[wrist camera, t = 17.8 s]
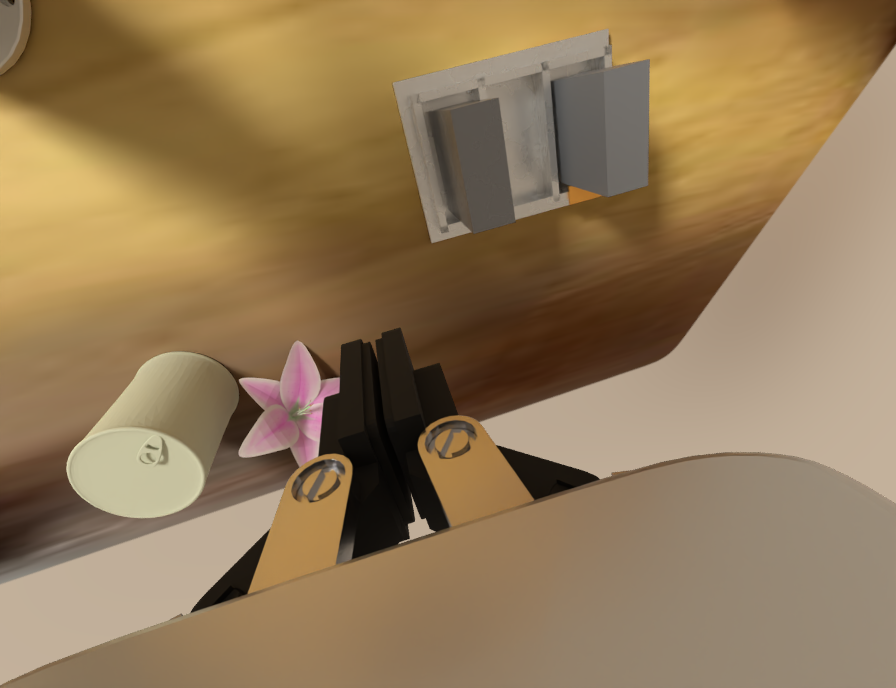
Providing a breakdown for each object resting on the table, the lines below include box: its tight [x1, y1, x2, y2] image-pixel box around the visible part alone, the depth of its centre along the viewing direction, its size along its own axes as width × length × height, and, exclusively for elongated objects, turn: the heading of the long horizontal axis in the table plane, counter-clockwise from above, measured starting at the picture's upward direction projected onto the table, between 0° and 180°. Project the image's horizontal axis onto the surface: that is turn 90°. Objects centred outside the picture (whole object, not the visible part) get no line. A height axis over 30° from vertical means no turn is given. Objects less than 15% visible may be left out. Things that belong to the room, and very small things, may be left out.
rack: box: [392, 29, 612, 243], centre depth 33 cm, size 13×18×10 cm
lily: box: [239, 340, 340, 467], centre depth 42 cm, size 12×12×10 cm
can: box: [67, 351, 239, 518], centre depth 37 cm, size 9×9×12 cm
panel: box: [550, 59, 650, 197], centre depth 33 cm, size 8×3×9 cm, turn 14°
